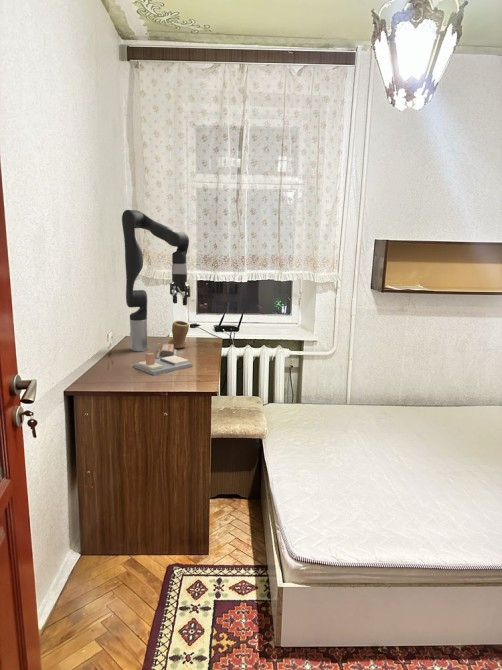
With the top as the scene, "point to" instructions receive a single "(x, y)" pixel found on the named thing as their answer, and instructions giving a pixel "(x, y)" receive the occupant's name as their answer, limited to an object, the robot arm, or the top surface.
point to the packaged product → (166, 351)
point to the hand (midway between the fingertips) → (179, 304)
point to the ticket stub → (150, 362)
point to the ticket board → (166, 365)
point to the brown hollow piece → (179, 334)
